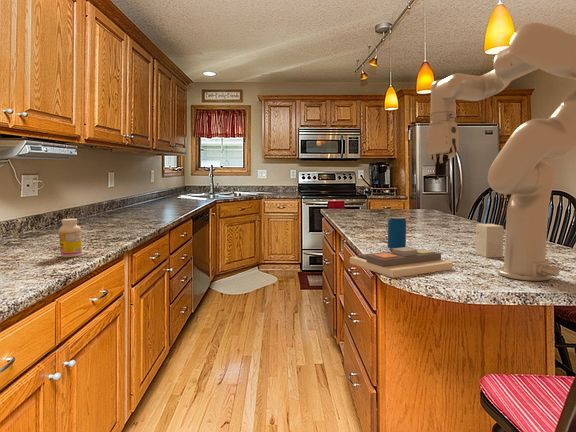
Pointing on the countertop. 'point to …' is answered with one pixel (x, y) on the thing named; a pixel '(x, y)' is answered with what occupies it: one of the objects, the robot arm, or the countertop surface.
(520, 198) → the robot arm
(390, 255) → the key terracotta
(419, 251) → the key sage
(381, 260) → the keypad
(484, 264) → the countertop surface
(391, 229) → the beverage can
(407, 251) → the key slate
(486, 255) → the small box
